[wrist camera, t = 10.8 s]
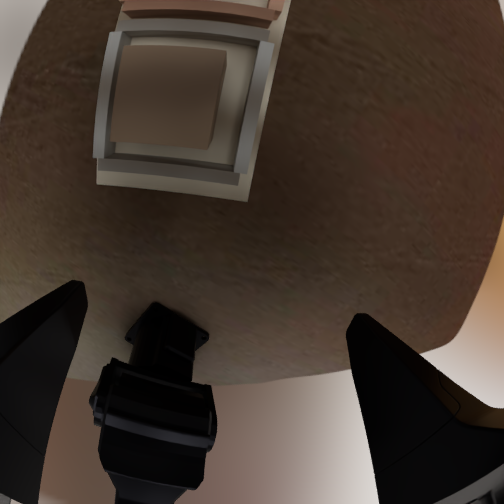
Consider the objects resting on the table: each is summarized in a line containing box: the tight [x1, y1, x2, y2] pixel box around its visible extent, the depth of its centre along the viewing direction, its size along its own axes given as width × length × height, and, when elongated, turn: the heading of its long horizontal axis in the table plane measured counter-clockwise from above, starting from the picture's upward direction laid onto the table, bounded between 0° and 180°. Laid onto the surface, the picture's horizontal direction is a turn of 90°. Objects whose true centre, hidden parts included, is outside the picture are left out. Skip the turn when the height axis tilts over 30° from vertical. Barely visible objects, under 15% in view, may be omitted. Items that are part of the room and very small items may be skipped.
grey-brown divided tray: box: [93, 0, 291, 202], centre depth 11 cm, size 23×11×6 cm, turn 169°
